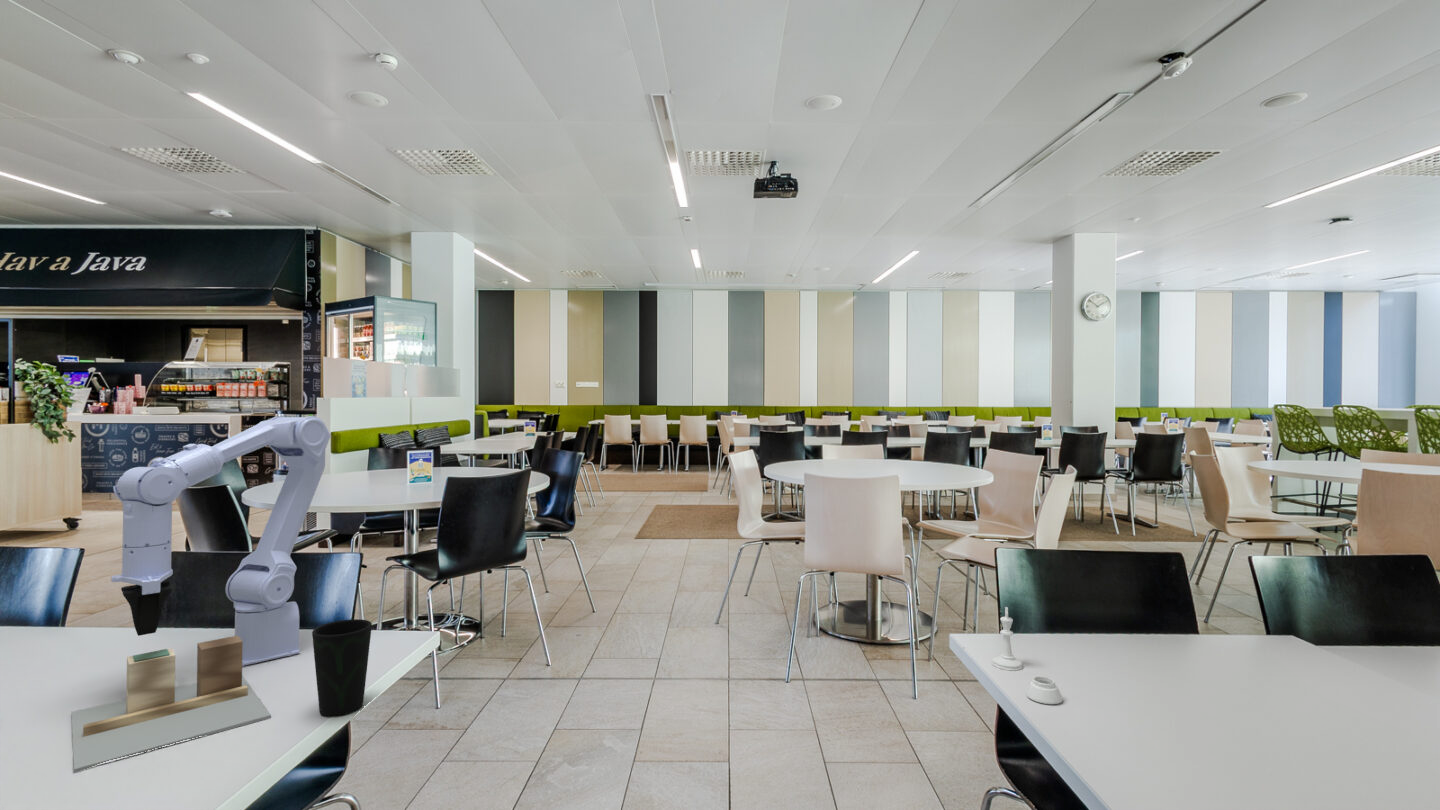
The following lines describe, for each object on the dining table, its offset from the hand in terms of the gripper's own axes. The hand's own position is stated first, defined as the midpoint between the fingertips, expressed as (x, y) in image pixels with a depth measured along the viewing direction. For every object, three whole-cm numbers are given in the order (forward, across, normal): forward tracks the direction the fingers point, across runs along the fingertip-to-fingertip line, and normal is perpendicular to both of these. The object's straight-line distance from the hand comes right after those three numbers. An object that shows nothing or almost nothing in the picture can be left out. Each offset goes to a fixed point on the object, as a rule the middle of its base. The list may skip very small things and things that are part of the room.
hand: (145, 632), depth 100 cm
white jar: (+10, +100, +96) cm, 139 cm away
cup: (+10, +26, +20) cm, 35 cm away
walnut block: (+10, +9, +8) cm, 15 cm away
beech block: (+10, +9, 0) cm, 13 cm away
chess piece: (+10, +91, +106) cm, 140 cm away
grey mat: (+10, +12, +2) cm, 15 cm away
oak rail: (+10, +12, +2) cm, 15 cm away
